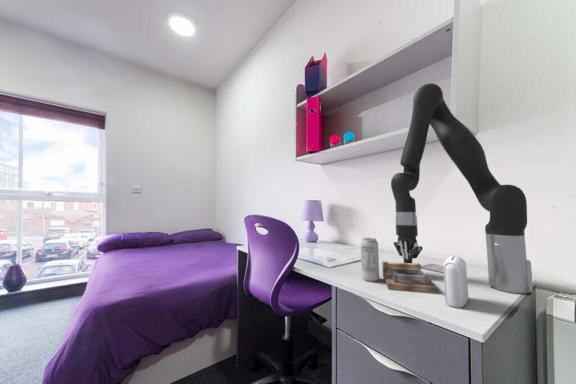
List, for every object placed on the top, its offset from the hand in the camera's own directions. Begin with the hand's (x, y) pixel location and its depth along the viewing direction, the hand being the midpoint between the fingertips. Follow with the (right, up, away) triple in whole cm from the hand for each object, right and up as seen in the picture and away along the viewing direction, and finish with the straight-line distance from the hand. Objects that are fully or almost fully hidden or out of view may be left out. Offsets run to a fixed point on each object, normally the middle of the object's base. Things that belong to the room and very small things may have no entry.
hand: (408, 268), depth 87 cm
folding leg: (-4, -2, -3) cm, 6 cm away
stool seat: (-6, -2, -12) cm, 13 cm away
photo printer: (0, -1, -25) cm, 25 cm away
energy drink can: (-17, -3, -6) cm, 18 cm away
